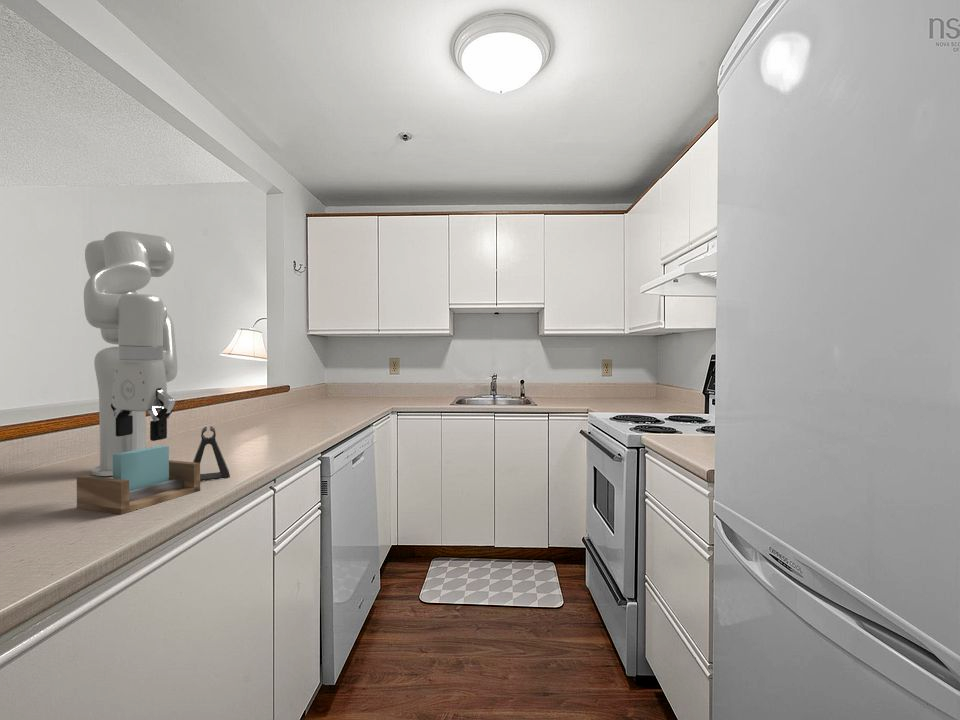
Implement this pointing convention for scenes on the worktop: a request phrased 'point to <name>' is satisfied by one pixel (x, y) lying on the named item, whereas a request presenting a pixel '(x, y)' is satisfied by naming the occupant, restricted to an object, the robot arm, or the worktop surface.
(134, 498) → the cabinet track
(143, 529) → the worktop surface
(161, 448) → the door panel
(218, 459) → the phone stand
